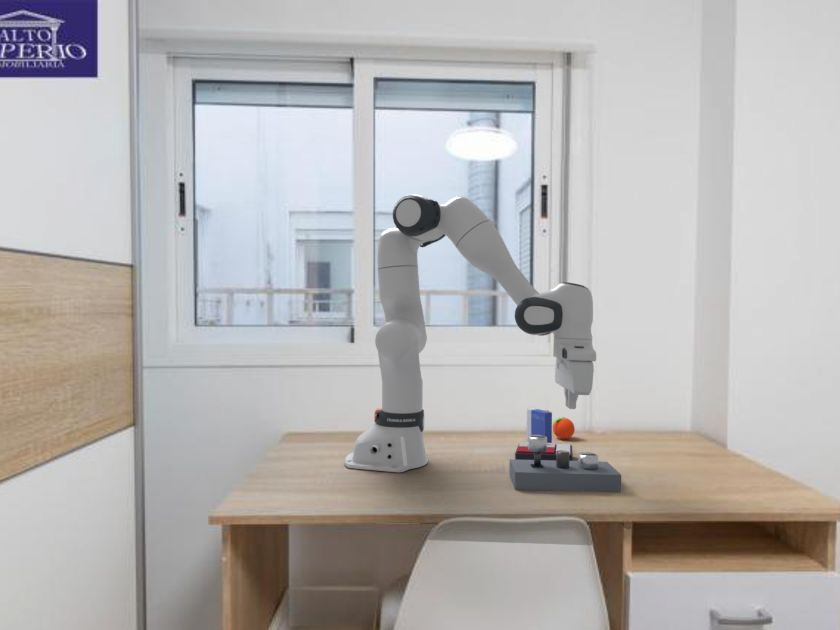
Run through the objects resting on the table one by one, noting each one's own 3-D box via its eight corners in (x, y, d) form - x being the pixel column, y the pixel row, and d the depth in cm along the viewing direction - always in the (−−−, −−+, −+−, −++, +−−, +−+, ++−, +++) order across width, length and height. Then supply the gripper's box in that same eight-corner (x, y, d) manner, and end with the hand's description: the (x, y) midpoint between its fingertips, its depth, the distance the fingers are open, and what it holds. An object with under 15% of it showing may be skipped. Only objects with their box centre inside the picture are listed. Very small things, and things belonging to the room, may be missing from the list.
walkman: (551, 451, 143) (552, 411, 144) (545, 452, 142) (545, 412, 142) (532, 445, 150) (533, 406, 150) (526, 446, 149) (526, 407, 149)
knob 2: (581, 486, 114) (581, 456, 114) (576, 480, 118) (576, 451, 118) (600, 487, 113) (600, 457, 113) (594, 480, 118) (594, 451, 118)
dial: (557, 468, 115) (557, 453, 115) (555, 464, 118) (555, 449, 118) (570, 468, 114) (570, 453, 115) (567, 464, 118) (567, 449, 118)
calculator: (518, 440, 143) (571, 442, 139) (519, 455, 143) (572, 457, 139) (514, 450, 133) (572, 452, 128) (515, 466, 132) (572, 468, 128)
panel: (515, 489, 112) (515, 472, 112) (509, 475, 122) (509, 459, 122) (621, 492, 110) (621, 474, 110) (606, 477, 120) (606, 461, 120)
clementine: (559, 442, 154) (559, 420, 154) (545, 437, 160) (545, 416, 160) (579, 440, 157) (579, 418, 157) (564, 435, 163) (565, 414, 163)
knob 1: (529, 468, 114) (530, 438, 114) (526, 462, 119) (526, 433, 119) (548, 468, 114) (548, 438, 114) (544, 463, 118) (545, 434, 118)
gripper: (549, 346, 127) (548, 399, 127) (569, 353, 106) (567, 416, 106) (574, 347, 126) (572, 400, 126) (599, 354, 106) (597, 417, 106)
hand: (570, 407), depth 116 cm, fingers closed
